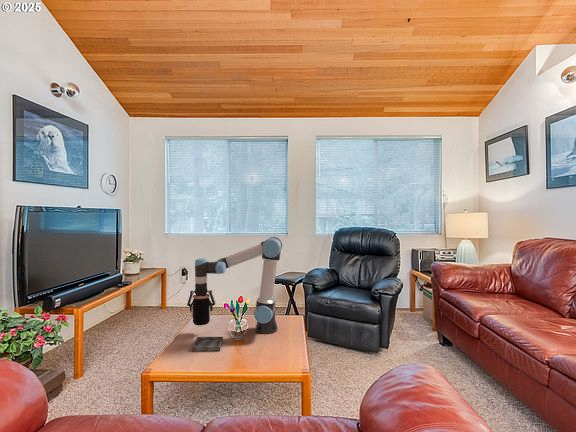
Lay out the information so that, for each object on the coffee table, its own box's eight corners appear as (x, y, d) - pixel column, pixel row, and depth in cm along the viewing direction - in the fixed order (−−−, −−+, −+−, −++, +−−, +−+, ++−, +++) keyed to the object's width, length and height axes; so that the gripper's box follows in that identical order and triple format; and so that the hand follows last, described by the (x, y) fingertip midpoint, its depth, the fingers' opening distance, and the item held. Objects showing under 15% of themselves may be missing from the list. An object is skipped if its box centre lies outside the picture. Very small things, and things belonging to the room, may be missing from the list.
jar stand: (223, 340, 210) (223, 336, 210) (219, 351, 195) (219, 346, 195) (197, 341, 209) (197, 336, 209) (192, 351, 194) (192, 347, 194)
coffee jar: (212, 320, 224) (211, 293, 224) (206, 326, 213) (206, 297, 213) (196, 320, 225) (196, 293, 225) (190, 325, 214) (190, 297, 214)
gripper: (219, 281, 223) (220, 314, 224) (184, 281, 222) (184, 314, 222) (218, 283, 216) (218, 317, 216) (181, 284, 214) (181, 318, 215)
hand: (201, 316), depth 219 cm, fingers closed on coffee jar, 10 cm apart
